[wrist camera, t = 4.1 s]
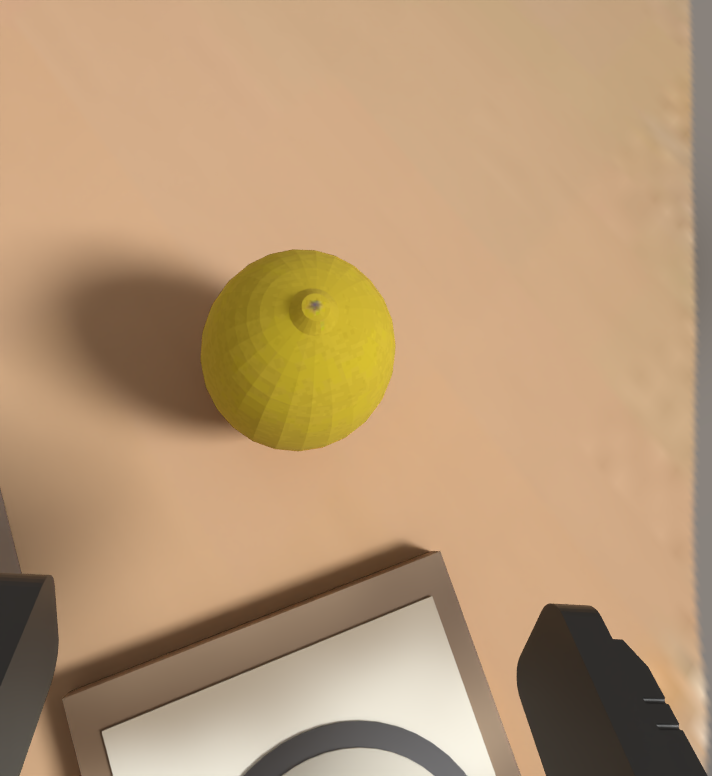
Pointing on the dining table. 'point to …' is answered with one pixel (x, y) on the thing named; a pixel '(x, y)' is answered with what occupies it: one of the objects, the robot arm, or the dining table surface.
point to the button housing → (7, 544)
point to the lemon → (298, 350)
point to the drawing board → (308, 693)
